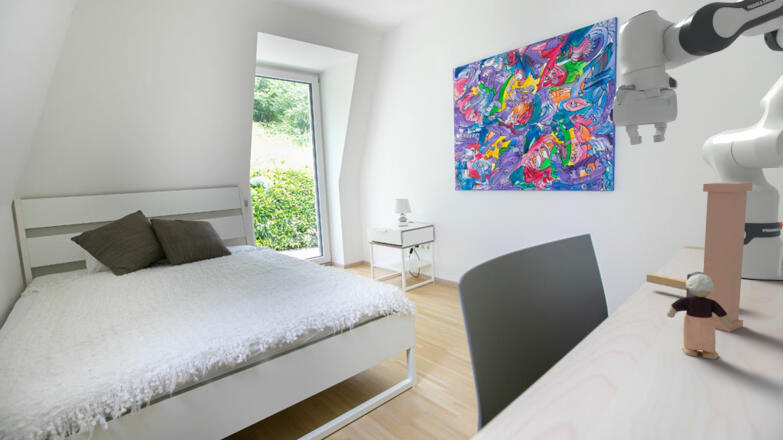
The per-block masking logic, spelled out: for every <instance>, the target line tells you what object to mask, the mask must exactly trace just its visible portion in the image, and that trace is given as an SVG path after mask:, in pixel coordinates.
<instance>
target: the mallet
mask: <svg viewBox="0 0 783 440" xmlns="http://www.w3.org/2000/svg"><path fill="white" fill-rule="evenodd" d="M697 274H702V275H703V271H696V272H691V273H688V274H687V275H686V279H681V278H677V277H671V276H666V275H662V274H656V273H647V274H646V283H651V284H655V285H660V286H665V287H671V288H674V289H678V290H684V291H686V294H685V297H694V295H692V294H691V292H690V290H689V289H688V288H686V281H687V280H688V279H689V278H690V277H691V276H694V275H697Z"/></svg>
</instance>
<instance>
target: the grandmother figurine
mask: <svg viewBox="0 0 783 440" xmlns="http://www.w3.org/2000/svg"><path fill="white" fill-rule="evenodd" d="M686 280H687V279H686ZM686 288H688V289H689V290H690V292H691V294H692V295H694V297H686V296H684V297H681V298H679V299H677V300H675V301H674V302H672V303H671V304H670V307H669V309H668V310H669V311H667V312H666V315H667V317H668V318H675V315H676V314H677V313H678V312H685V314H684V317H683V330H682V333H683V335H682V336H683V337H682V338H683V346H682V347H681V350H682V352H683V353H684V355H686V356H690V357H697V356H698V355H699V353H698V352H699V351H702V352H701V356H702V358H705V359H708V360H716V359H718V358H719V357H720V355H719V353H718V352H717V351H716V342H717V341H716V328H715V325H714V319H713V317H712V312H713V313H715V314H716V315H717V316H718V317H719V318H720V320H721V321H722V322H723V325H724V326H725V327H727V328H729V327H731V326H732V323H731V322H730V321H729V317H728V315H727V313H726V311H725V310H724V309H723V308H722V307H721V305H720V304H718V303H717V302H716V301H715V300H712V299H709V298H705V297H706V296H708V295H709V294H710V292H711V291H713V290H712V289H713V282H712V279H711V278H710V277H709V276H706V275H702V274H697V275H694V276H691V277H690V278H689V279H688V280H687V281H686Z"/></svg>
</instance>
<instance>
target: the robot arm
mask: <svg viewBox="0 0 783 440" xmlns="http://www.w3.org/2000/svg"><path fill="white" fill-rule="evenodd" d="M760 35H763V40H764V43H765V45H766V46H767V47H768V48H769V49H770V50H771V51H774V52H783V0H737V1H735V2H727V1H726V2H722V1H717V2H716V1H715V2H709V3H708V4H705V5H703V6H702V7H700V8H698V9H697V10H695V11H693V13H691V14H690V15H688V16H685V17H684V18H682V19H681V20H679V21H677V22H672V21H669V20H666V19H664V18H663V17H662V16H660V15H659V12H658V11H657V10H655V9H650V10H647V11H644V12H641V13H639V14H637V15H635V16H632V17H631V18H629V19H628V20H627V21H625V22H624V23H622V24H621V26H620V28H619V33H618V40H617V41H618V43H617V45H618V46H617V48H618V50H617V51H618V59H619V60H618V61H619V62H620V64H621V72H620V84H621V85H619V86H618V87H617V89H616V91H615V96H614V97H613V102H612V117H613V118H612V121H613V124H614V126H615V127H617V128H618V127H625V132H626V133H627V136H628V137H629V142H630V143H629V144H630V145H632V146H636V145H640V144H642V142H643V140H642V135H640V133H639V131H638V129H639V126H645V125H654V126H653V127H654V129H655V133H654V135H653V136H652V137H653V142H654V143H662V142H664V141H665V139H666V138H665V137H666V136H665V133H666V130H667V128H668V124H667V123H671V122H675V121H676V119H677V116H678V96H677V95H678V94H677V92H676V91H675V90H677V89H678V85H679V84H678V81H677V79H675V78H674V77H672V76H671V75H670V74H669V73H668V72H667V71H668V70H673V69H676V68H679V67H682V66H685V65H687V64H689V63H691V62H694V61H696V60H698V59H701V58H703V57H706V56H710V55H712V54H715V53H719V52H721V51H723V50H726V49H727V48H729V47H730V46H731V45H732V44H733V43H734V42H735V41H736V40H737V39H738V38H739V37H740V36H744V37H747V38H748V37H749V38H751V37H755V36H760ZM758 106H759V110H760V112H761V114H762V117H761V118H760V120H759V121H757V122H756V123H754V124H753V125H751V126H745V127H744V126H743V127H738V128H732V129H731V128H730V129H727V130H723V131H721V132H719V133H716V134H714V135H712V136H710V137H708V139H706V141H705V142H704V143H703V146H702V149H701V155H702V158H703V160H704V162H706V164H707V165H709V167H710V168H712V169H713V171H714V173H715V176H716V178H717V182H718V183H753V185H752V191H747V199H746V214H745V229H744V244H743V259H742V274H741V279H744V278H745V279H752V280H775V281H777V280H778V281H779V280H780V281H783V240H782V239H781V237H780V236H781V234H782V232H781V230H783V222H782V221H778V220H779V208H780V207H779V206H780V195H781V194H780V192H779V189H777V188H776V187H775V186H773V185H772V184H770V183H769V182H768V180H767V179H766V176H765V174H764V170H763V169H777V168H778V169H779V168H783V73H782V74H781V76H780V77H778V79H777V80H776V81H775V82H774V84H773V85H772V86H771V88H770V89H769V90H768V91H767V92H766V94H765V95H764V96H763V97H762V98H761V99H760V102H759V105H758ZM702 268H704V262H703V263H702Z"/></svg>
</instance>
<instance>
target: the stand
mask: <svg viewBox="0 0 783 440" xmlns="http://www.w3.org/2000/svg"><path fill="white" fill-rule="evenodd" d="M702 185H703V186H702V187H703V188H702V192H703V193H704V192H706V193H707V199H706V217H705V218H706V220H705V233H704V234H705V235H704V236H705V237H704V251H703V253H704V254H703V255H704V256H703V263H704V267H703V271H702V272H703V275H706V276H709V277H710V278H711V279H712V282H713V289H712V290H713V291H711V292H710V294H709V295H708V296H706V297H705V298H709V299H712V300H715V301H716V302H717V303H718V304H720V305H721V307H722V308H723V309H724V310H725V311H726V313H727V315H728V317H729V321H730V322H731V323H732V326H731V327H729V328H727V327H725V326H724V325H723V322H722V321H721V320H720V318H719V317H718V316H717V315H716V314H715V313H713V312H712V317H713V319H714V325H715V330H716V329H717V330H720V331H723V332H727V333H730V332H732V331H735V330H737V329H740V328H742V327H744V319H741V318H739V316H740V302H741V300H740V299H741V289H742V287H741V285H742V277H741V274H742V259H743V244H744V229H745V214H746V199H747V191H752V185H753V183H719V182H712V183H711V182H709V183H708V182H707V183H702Z"/></svg>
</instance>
